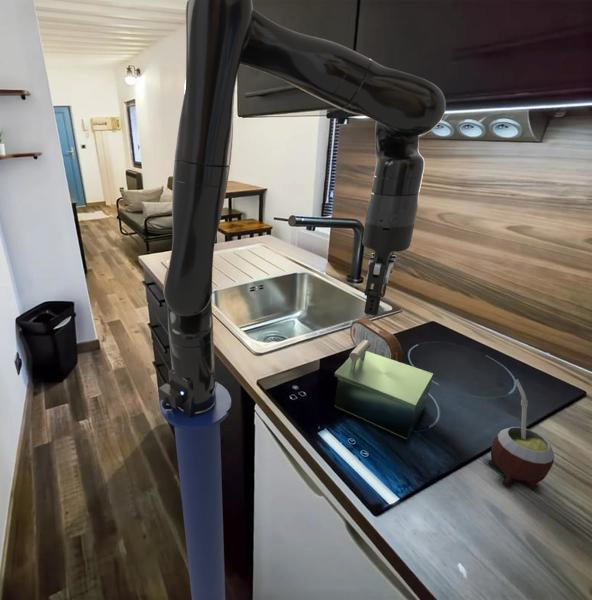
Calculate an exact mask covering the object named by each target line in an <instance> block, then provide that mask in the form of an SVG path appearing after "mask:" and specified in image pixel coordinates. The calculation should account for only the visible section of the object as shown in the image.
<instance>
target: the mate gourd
mask: <svg viewBox="0 0 592 600" xmlns="http://www.w3.org/2000/svg"><path fill="white" fill-rule="evenodd" d="M514 382H515V384H516V386H517V389H518V391H519V394H520V397H521V399H520V406H521V423H520V424H521V427H520V426H511V427H506V428H504V429H502V430H500V431H499V432H498V433H497V435H496V436H495V437H494V439H493V440H492V443H491V448H490V459H489V460H488V462H487V464H488V466H490V467H492V468H494V469H496V470H497V471H499V472H501V473H503V474H505V477H504V478H503V480H502V481H501V485H502V486H504V487H506V488H509V486H511V485H510V484H511V483H512V482H513V480H515V481H518V482H519V483H521V484H523V485H525V486H527V487H528V488H531V489H532V490H536V489H538V484H539V483H540V482H542V481H543V480H544V479H546V477H547V476H548V474H549V472H550V471H551V469H552V467H553V466H554V465H553V464H554V462H555V454H554V453H555V452H554V451H553V448H552V445H551V444H550V442H549V441H548V440H547V439H546V438H545V437H544V436H542V435H541V434H539V433H538V432H536V431H534V430H531V429H529V428H527V417H528V407H529V400H528V399H527V396H526V392H525V390H524V388H523V386H522V384H521V382H520V380H519V379H518V378H515V379H514Z"/></svg>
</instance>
